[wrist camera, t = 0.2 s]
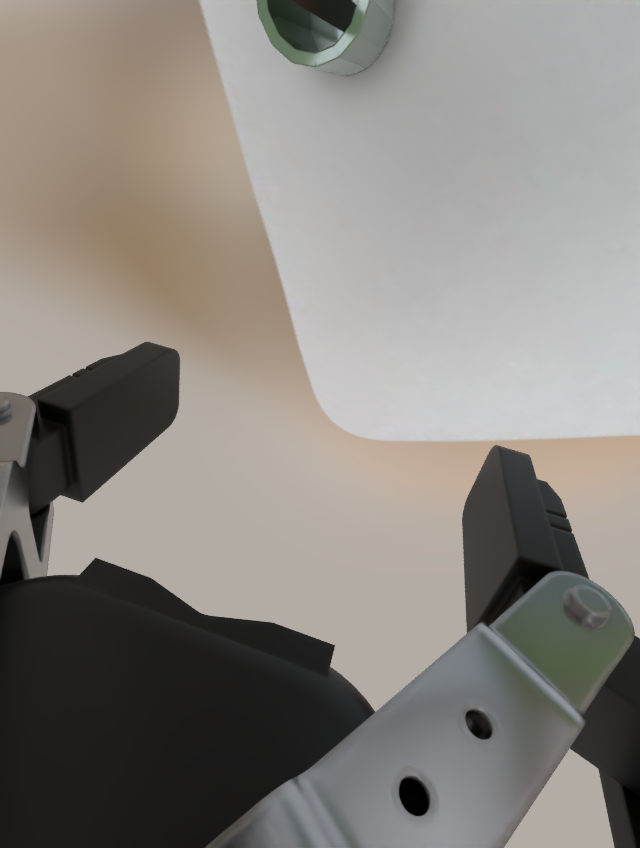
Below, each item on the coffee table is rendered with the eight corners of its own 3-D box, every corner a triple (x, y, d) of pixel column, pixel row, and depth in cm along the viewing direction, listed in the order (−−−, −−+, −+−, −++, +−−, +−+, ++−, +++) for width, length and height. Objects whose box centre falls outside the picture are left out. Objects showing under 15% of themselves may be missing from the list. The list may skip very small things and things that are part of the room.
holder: (337, -80, 22) (293, -143, 16) (415, -3, 23) (397, -39, 17) (287, 33, 25) (235, 12, 19) (357, 97, 26) (326, 93, 20)
